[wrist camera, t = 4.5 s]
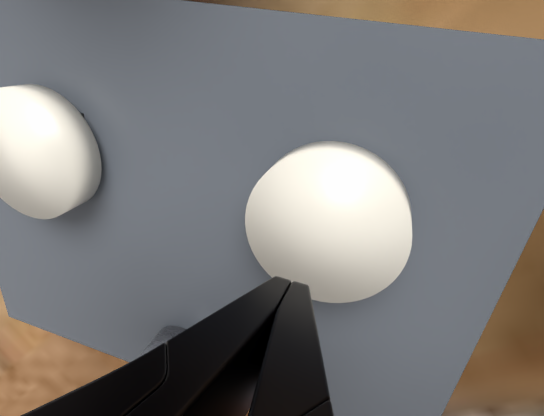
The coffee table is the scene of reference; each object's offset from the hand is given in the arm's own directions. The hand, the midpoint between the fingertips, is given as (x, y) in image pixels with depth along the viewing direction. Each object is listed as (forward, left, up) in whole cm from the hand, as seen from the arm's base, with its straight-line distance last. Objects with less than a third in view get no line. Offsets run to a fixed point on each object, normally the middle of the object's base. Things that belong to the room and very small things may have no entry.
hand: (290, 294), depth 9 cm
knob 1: (+12, 0, -7) cm, 14 cm away
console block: (+6, +3, -10) cm, 12 cm away
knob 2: (0, 0, -7) cm, 7 cm away
